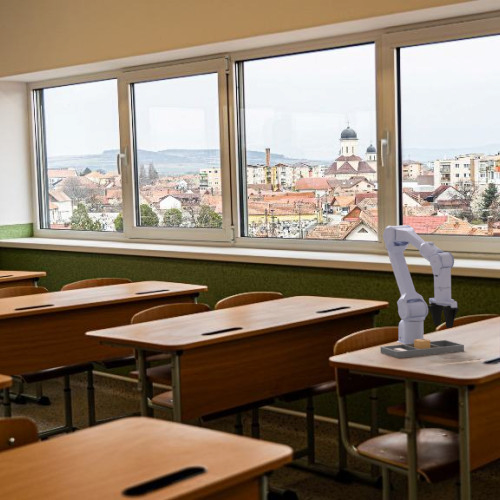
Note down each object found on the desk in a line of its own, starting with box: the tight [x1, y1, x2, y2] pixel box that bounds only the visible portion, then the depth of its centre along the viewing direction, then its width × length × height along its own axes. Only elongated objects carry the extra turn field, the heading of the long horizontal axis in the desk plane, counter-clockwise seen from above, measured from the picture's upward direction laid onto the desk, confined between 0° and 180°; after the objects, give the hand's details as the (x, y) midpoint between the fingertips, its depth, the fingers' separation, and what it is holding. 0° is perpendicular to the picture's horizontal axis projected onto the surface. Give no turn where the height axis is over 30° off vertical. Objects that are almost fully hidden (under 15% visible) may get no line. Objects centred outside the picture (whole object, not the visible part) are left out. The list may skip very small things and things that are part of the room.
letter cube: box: [414, 338, 431, 349], centre depth 315 cm, size 4×4×4 cm
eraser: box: [394, 348, 408, 352], centre depth 312 cm, size 5×2×2 cm, turn 22°
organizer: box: [380, 339, 465, 359], centre depth 315 cm, size 11×26×2 cm, turn 112°
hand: (443, 326), depth 317 cm, fingers open, 7 cm apart
